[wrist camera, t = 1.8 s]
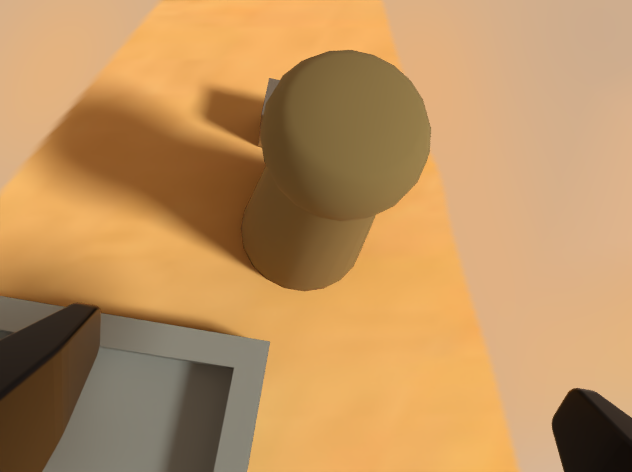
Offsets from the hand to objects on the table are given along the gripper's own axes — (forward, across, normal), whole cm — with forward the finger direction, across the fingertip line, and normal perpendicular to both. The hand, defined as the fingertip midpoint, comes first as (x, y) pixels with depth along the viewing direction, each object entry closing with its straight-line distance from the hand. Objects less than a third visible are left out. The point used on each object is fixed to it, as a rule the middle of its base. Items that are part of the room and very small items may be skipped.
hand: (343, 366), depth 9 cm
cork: (+14, 0, +4) cm, 15 cm away
